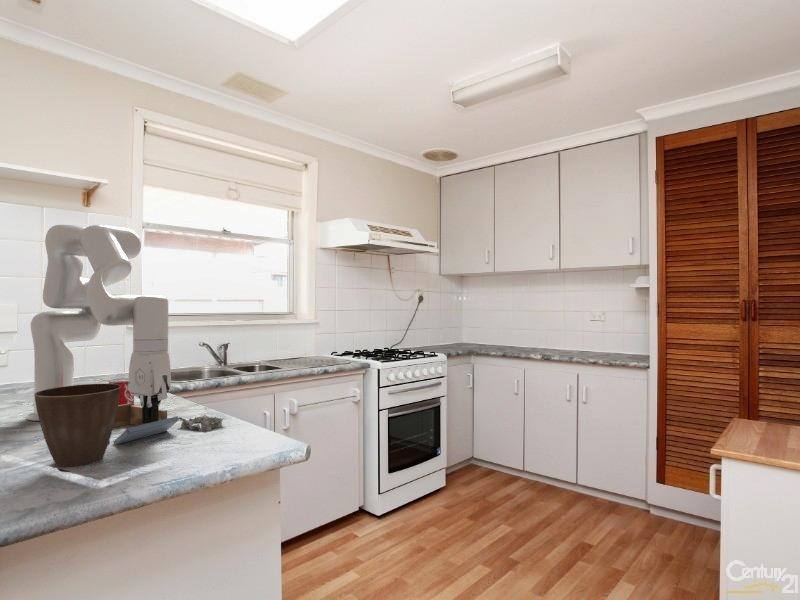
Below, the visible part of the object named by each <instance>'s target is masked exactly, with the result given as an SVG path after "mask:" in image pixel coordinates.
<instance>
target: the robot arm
mask: <svg viewBox="0 0 800 600" xmlns="http://www.w3.org/2000/svg"><path fill="white" fill-rule="evenodd" d="M44 240H45V241H44V243H45V244H44V245H45V250H46V254H47V267H46V272H45V279H44V283H43V290H42V300H43V304H44V305H45V306H46V307H48V308H51V309H58V310H48V311H43V312H39V313H37V314H35V315H34V316H33V317H32V319H31V321H30V333H31V336H32V337H31V338H32V342H33V350H34V352H33V353H34V369H33V370H34V375H33V376H34V381H33V382H34V383H33V384H34V387H33V391H34V393H33V396H34V394H35V393H36V392H39V391H42V390H46V389H51V388H57V387H65V386H73V385H75V384H74V383H75V382H74V377H75V376H74V363H75V362H74V354H73V353H72V352H71V350H70V349H69V348H68V346H67V345H66V344H65V343H73V342H87V341H92V340H95V339H96V338H97V337H98V335H99V333H100V330H101V325H103V326H107V327H108V326H113V327H115V326H133V328H132V339H133V340H132V344H133V345H132V353H131V356H130V358H129V359H130V361H129V366H128V377H127V379H128V390H129V392H131V393H133V394H134V397H136V398H138V399H139V403H140V406H142V423H143V424H147V423H151V422H155V421H158V420H159V409H160V406H161V402H162V401H163V400H167V399H168V393H169V392H170V390H171V389H172V388H171V387H172V386H171V385H172V372H171V363H170V362H171V361H170V356H169V354H170V353H169V300H168V298H167V297H165V296H163V295H144V294H143V295H142V294H140V295H137V294H110V293H109V292H108V291H107V288H106V287H109V286H111V285H114V284H116V283H119V282H121V281H123V280H124V279H126V278H127V277H128V276H129V275H130V274H131V271H132V268H133V267H132V263H131V261H130V260H131V259H134V258H136V257H137V256H139V254H140V252H141V249H142V242H141V239H140V237H139V235H138V234H137V233H136V232H135V231H134V230H132V229H130V228H126V227H117V226H111V225H104V224H103V225H102V224H97V225H96V224H94V225H93V224H92V225H88V226H83V225H82V226H81V225H73V224H55V225H53V226H51V227H50V228H48V230H47V232H46V234H45V239H44ZM80 257H85V258H86V257H87V259H88V262H89V264H90V266H91V268H92V270H93V271H94V273H93V274H92V275H91V276H90V278H88V277H82V276H83V270H84V263H83V260H82V259H81V258H80ZM129 259H130V260H129ZM60 309H61V310H60ZM62 309H63V310H62ZM73 309H74V310H73ZM75 309H76V310H75ZM78 309H79V310H78ZM33 399H34V400H33V402H34V403H33V404H32V408H33V412H31V413H29V414H27V417H26V418H27V420H28V421H33V422H34V421H35V422H40V421H39V417H38V413H37V408H36V402H35V396H34V397H33Z"/></svg>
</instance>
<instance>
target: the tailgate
mask: <svg viewBox="0 0 800 600" xmlns="http://www.w3.org/2000/svg"><path fill="white" fill-rule="evenodd" d="M179 421H180V419H179V417H178V416H172V417H169V418H168V417H167V419H164V420H160V421H155V422H151V423H147V424H143V425H135V426H132V427H127V428H126V429H125V430H124V431H123V432H122V433H121V434H120V435H119V436H118V437H117V438H116V439H114V441H113V444H114V445H119V444H123V443H127V442H131V441H134V440H138V439H141V438H147V437H150V436H153V435H156V434H160V433H164V432H167V431H168V430H169V429H170V428H171V427H173V426H174V425H175V424H176V423H178V422H179Z"/></svg>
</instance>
